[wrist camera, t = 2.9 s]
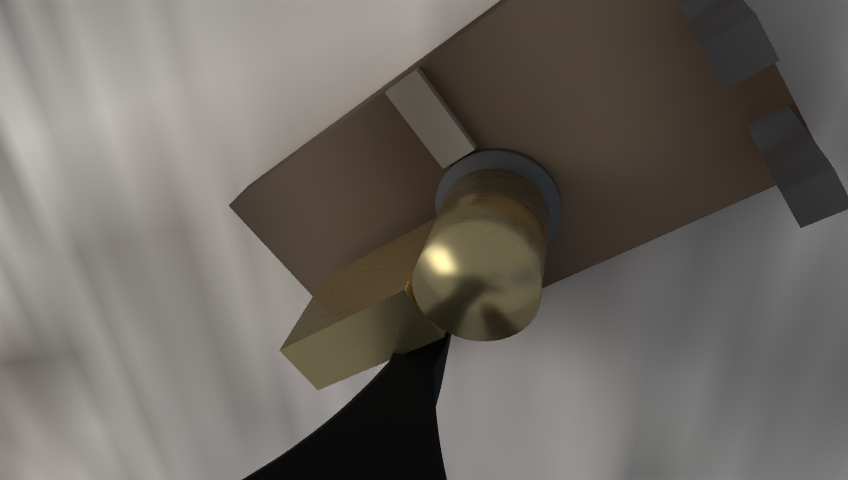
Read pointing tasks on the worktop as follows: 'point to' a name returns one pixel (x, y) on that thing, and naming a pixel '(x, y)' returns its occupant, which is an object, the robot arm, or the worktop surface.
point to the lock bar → (432, 282)
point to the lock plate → (556, 134)
